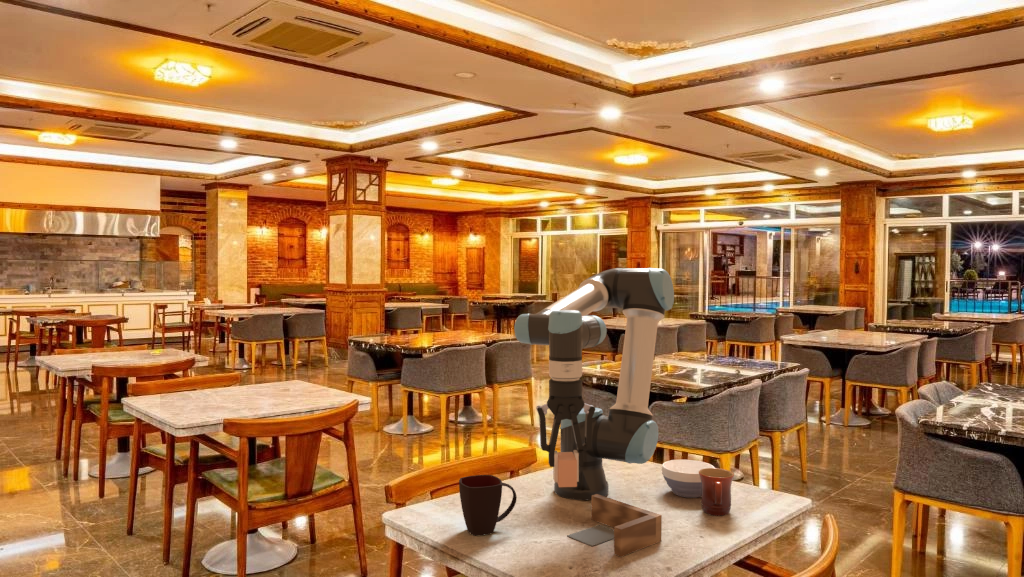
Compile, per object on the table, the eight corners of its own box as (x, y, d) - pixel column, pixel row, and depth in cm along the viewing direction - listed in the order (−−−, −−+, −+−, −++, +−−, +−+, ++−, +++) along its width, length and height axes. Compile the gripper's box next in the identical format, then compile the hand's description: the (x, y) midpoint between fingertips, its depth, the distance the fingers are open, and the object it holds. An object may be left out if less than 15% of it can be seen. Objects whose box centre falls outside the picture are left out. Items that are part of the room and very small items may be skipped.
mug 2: (697, 505, 187) (697, 467, 187) (731, 508, 185) (732, 469, 185) (700, 521, 175) (700, 480, 175) (736, 524, 174) (737, 482, 173)
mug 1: (455, 526, 172) (455, 477, 171) (509, 519, 176) (509, 471, 176) (465, 541, 162) (465, 489, 162) (522, 533, 167) (522, 483, 167)
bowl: (706, 505, 188) (706, 476, 187) (654, 495, 195) (654, 468, 195) (721, 490, 200) (721, 464, 200) (671, 482, 208) (672, 456, 207)
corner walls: (556, 531, 169) (556, 506, 169) (596, 517, 178) (597, 494, 178) (620, 556, 154) (621, 529, 153) (661, 541, 163) (661, 515, 162)
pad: (567, 536, 165) (567, 535, 165) (599, 525, 173) (599, 524, 173) (592, 546, 159) (592, 545, 159) (624, 534, 166) (624, 533, 166)
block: (555, 477, 165) (555, 452, 165) (572, 477, 165) (572, 451, 165) (559, 487, 158) (559, 460, 158) (576, 486, 158) (576, 460, 158)
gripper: (529, 381, 157) (530, 486, 158) (605, 380, 158) (606, 484, 159) (526, 376, 164) (527, 476, 165) (599, 375, 165) (599, 474, 166)
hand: (565, 479), depth 162 cm, fingers closed on block, 4 cm apart
